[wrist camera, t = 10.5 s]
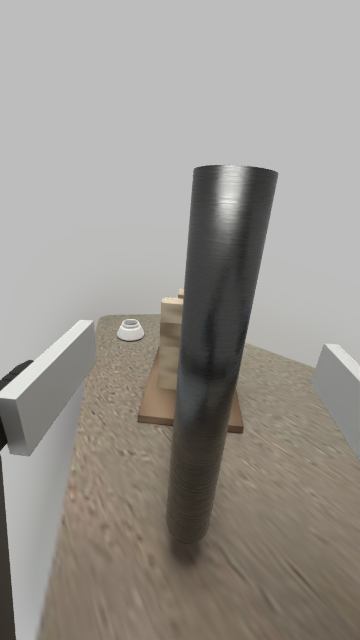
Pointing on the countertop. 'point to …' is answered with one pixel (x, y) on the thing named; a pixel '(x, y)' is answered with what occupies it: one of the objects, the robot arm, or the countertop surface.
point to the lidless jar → (130, 330)
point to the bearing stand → (171, 372)
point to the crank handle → (213, 331)
